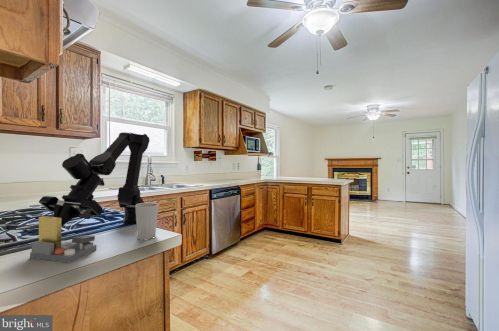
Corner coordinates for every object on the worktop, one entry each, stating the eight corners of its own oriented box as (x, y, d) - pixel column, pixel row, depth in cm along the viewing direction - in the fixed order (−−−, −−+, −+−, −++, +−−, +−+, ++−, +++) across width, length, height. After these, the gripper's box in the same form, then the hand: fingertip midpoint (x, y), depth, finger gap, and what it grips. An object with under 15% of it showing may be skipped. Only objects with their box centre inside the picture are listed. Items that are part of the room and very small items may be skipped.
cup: (141, 242, 85) (142, 208, 84) (130, 237, 89) (131, 204, 89) (162, 236, 91) (163, 205, 90) (150, 232, 96) (151, 201, 95)
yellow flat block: (45, 246, 73) (45, 215, 73) (62, 249, 72) (62, 217, 72) (37, 250, 71) (37, 217, 70) (54, 252, 70) (55, 219, 69)
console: (62, 245, 79) (62, 230, 79) (96, 249, 77) (96, 234, 77) (30, 257, 70) (30, 241, 69) (68, 263, 68) (68, 246, 67)
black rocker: (85, 239, 77) (86, 235, 78) (94, 240, 77) (95, 236, 77) (71, 242, 72) (72, 237, 73) (81, 243, 72) (81, 238, 72)
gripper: (120, 203, 87) (96, 245, 77) (75, 199, 90) (45, 239, 80) (104, 184, 79) (74, 228, 69) (55, 180, 82) (19, 222, 72)
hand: (53, 230), depth 72 cm, fingers closed, pressing on yellow flat block
